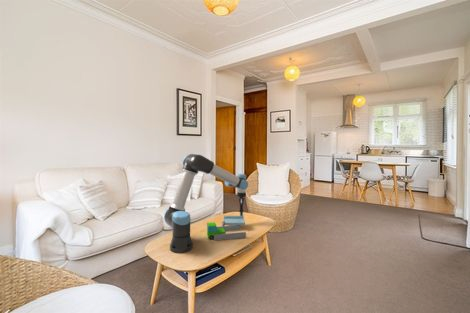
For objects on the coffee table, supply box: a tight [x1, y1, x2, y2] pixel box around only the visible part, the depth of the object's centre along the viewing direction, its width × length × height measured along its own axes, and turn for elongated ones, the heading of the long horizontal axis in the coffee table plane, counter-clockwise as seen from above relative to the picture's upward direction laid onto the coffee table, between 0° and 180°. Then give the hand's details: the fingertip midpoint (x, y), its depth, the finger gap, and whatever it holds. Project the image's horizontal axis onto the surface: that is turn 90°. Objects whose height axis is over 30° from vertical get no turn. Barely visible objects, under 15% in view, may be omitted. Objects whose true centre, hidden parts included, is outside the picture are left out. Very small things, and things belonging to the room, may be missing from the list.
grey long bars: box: [213, 225, 247, 241], centre depth 175 cm, size 24×16×4 cm
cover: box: [221, 215, 246, 226], centre depth 190 cm, size 13×19×8 cm
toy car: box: [206, 221, 227, 240], centre depth 171 cm, size 10×13×10 cm
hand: (241, 218), depth 198 cm, fingers closed
